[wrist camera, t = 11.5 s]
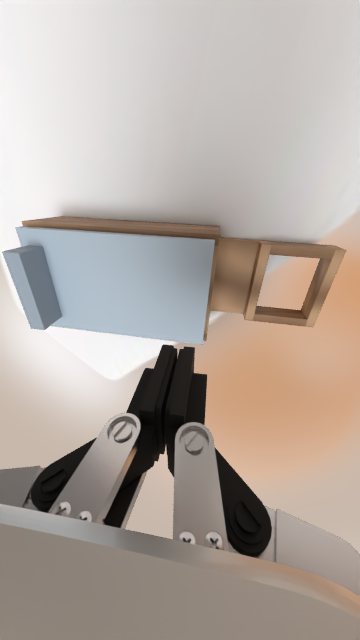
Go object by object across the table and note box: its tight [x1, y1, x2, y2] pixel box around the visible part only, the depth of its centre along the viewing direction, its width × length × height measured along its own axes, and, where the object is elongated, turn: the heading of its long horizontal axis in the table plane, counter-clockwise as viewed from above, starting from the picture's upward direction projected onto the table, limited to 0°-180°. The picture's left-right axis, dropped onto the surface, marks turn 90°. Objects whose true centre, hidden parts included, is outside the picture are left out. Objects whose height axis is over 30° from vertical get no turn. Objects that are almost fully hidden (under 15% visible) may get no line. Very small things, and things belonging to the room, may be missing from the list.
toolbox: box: [22, 216, 346, 341], centre depth 26 cm, size 12×33×6 cm, turn 88°
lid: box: [2, 226, 215, 345], centre depth 21 cm, size 11×19×4 cm, turn 88°
